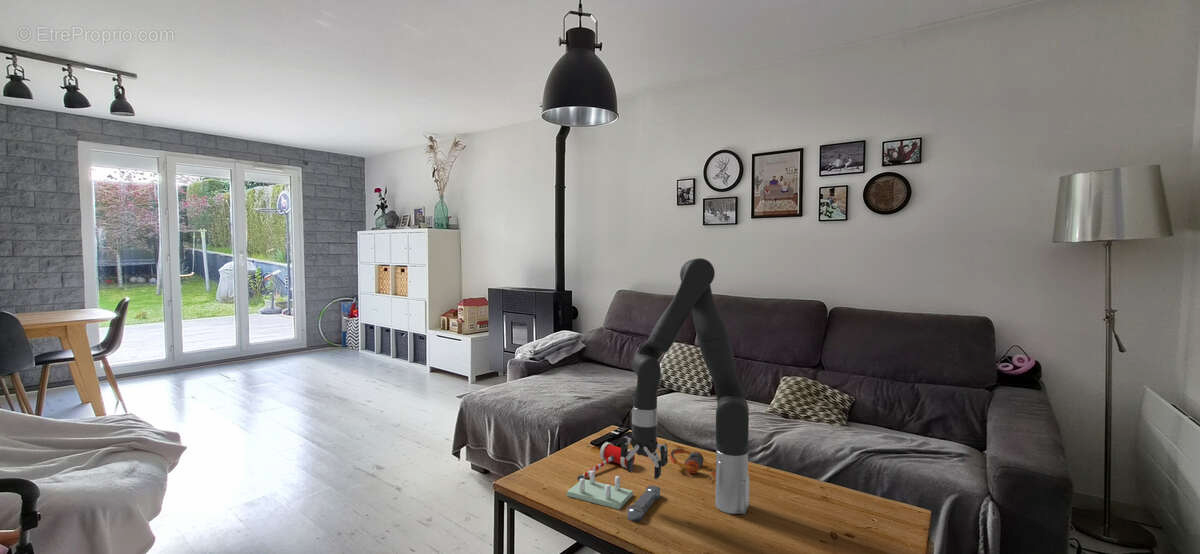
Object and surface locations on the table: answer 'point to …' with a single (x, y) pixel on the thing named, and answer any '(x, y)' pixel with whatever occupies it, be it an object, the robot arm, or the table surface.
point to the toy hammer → (609, 458)
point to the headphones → (690, 461)
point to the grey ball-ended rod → (643, 503)
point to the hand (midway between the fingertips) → (643, 474)
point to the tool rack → (600, 492)
